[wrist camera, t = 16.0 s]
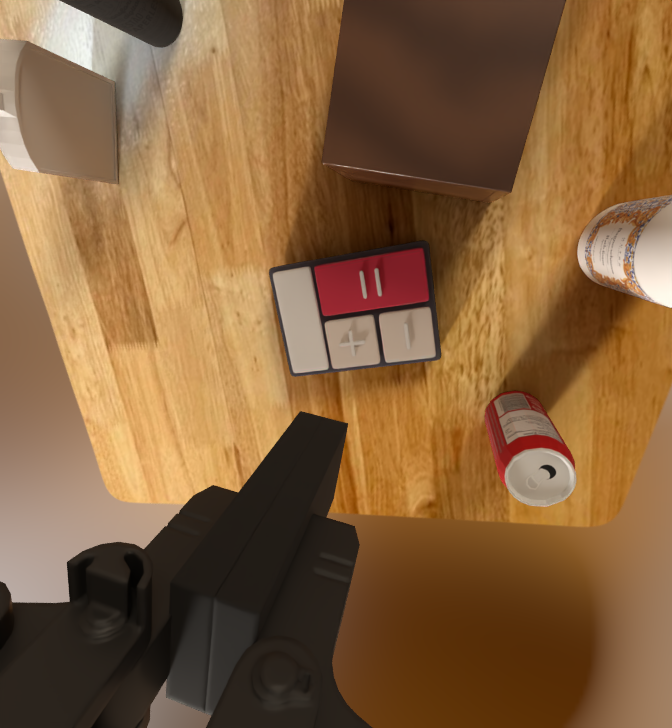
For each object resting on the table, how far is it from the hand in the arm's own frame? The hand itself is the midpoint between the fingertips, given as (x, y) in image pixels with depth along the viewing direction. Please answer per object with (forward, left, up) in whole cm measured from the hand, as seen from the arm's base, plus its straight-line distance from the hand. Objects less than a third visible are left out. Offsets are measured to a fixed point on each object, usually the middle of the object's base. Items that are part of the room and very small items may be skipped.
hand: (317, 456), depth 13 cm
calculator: (+1, +4, -31) cm, 31 cm away
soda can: (-15, -6, -31) cm, 35 cm away
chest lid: (+15, -10, -20) cm, 28 cm away
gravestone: (+28, +21, -31) cm, 47 cm away
